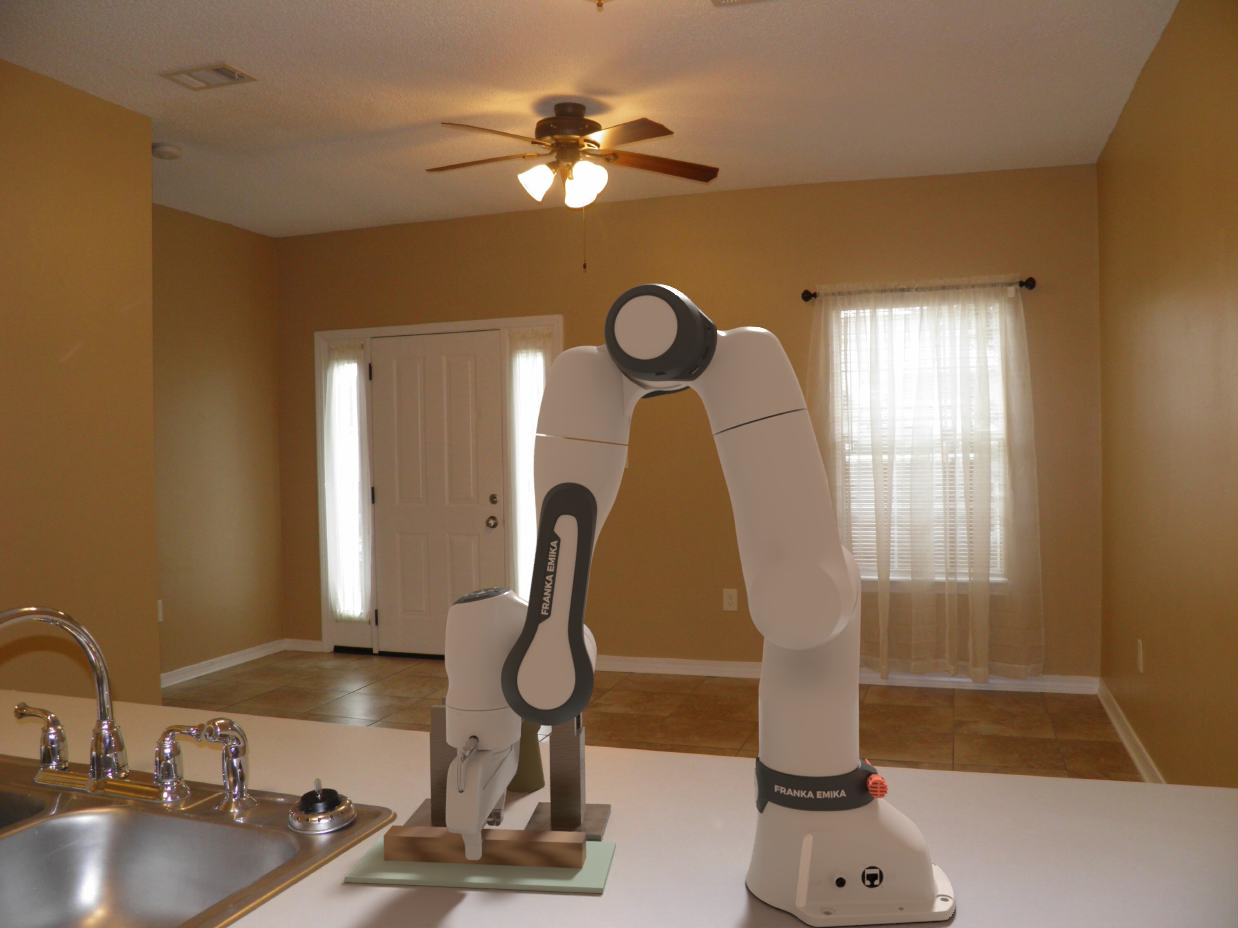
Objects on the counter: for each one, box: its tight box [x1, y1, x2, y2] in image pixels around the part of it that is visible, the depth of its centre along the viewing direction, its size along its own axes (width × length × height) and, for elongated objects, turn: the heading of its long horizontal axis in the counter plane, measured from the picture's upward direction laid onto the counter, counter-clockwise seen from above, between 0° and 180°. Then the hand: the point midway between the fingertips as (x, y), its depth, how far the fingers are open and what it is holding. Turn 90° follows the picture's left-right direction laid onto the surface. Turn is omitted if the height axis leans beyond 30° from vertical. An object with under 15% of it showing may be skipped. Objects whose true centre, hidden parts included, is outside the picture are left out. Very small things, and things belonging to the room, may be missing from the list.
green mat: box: [344, 832, 617, 894], centre depth 110 cm, size 30×12×1 cm, turn 83°
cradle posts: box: [402, 694, 612, 842], centre depth 122 cm, size 26×10×16 cm, turn 83°
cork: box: [506, 720, 546, 793], centre depth 136 cm, size 6×6×11 cm
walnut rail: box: [384, 824, 586, 868], centre depth 110 cm, size 24×3×3 cm, turn 83°
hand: (485, 839), depth 110 cm, fingers open, 8 cm apart
